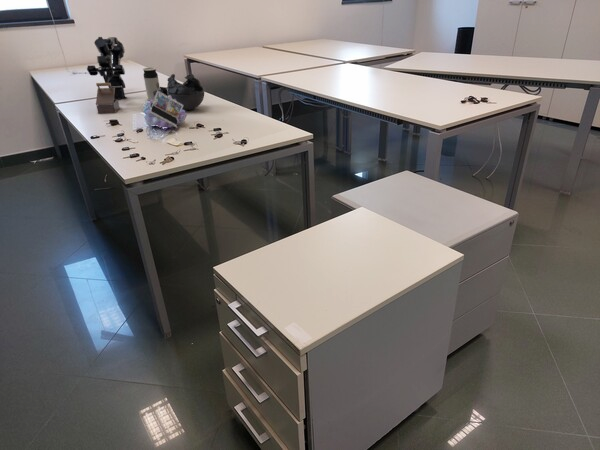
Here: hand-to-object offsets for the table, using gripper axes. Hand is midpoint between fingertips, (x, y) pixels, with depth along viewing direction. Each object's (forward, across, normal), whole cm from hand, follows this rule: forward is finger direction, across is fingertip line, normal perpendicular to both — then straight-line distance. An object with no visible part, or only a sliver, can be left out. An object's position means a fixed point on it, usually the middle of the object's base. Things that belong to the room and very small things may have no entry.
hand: (106, 83), depth 232 cm
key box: (+14, 0, +5) cm, 15 cm away
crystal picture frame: (+39, +35, -20) cm, 56 cm away
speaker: (+11, +28, +9) cm, 32 cm away
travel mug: (-1, +22, +20) cm, 30 cm away
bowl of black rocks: (+18, +44, +1) cm, 47 cm away
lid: (+9, 0, -1) cm, 9 cm away
